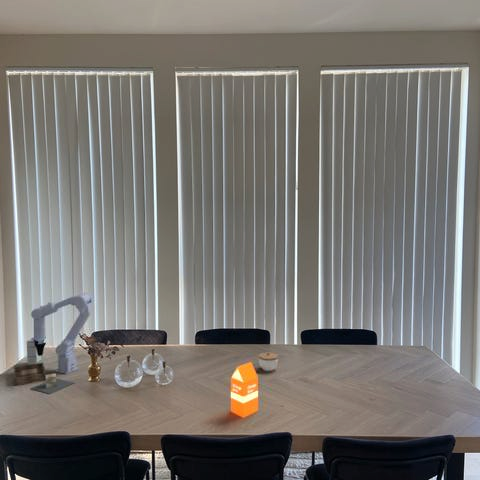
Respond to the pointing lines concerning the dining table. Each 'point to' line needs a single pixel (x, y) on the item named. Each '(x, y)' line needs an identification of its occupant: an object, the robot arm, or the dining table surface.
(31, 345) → the syrup box
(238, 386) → the orange juice
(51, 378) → the birch block
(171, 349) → the dining table surface
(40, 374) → the walnut crate
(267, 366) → the lidded jar
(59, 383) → the rubber mat
